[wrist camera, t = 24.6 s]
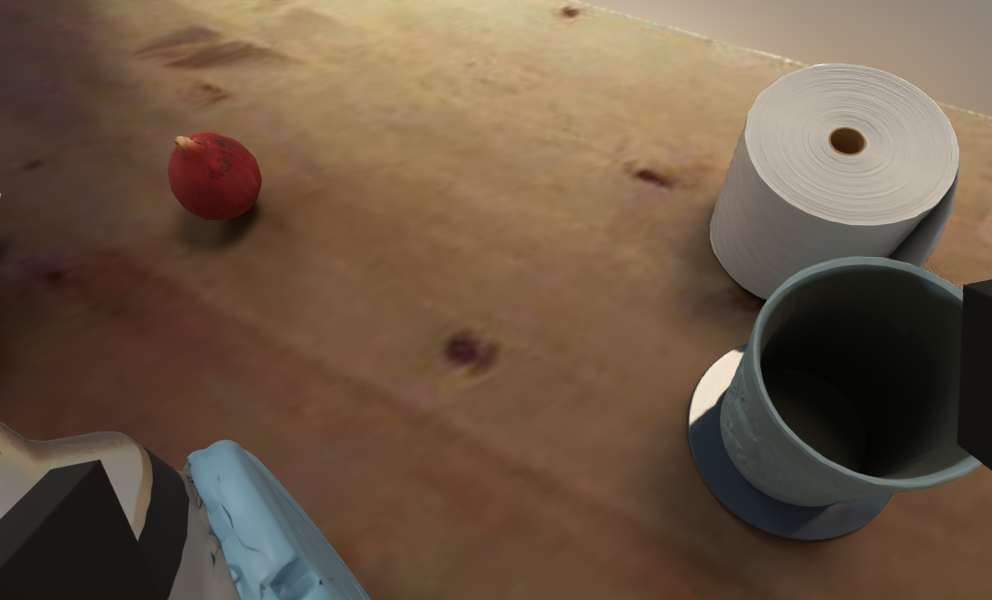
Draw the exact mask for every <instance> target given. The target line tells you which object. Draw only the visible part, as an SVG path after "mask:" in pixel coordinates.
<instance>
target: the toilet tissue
mask: <svg viewBox="0 0 992 600" xmlns="http://www.w3.org/2000/svg"><path fill="white" fill-rule="evenodd" d="M958 172H959V147H958V143H957V138H956V134H955V132H954V130H953V128H952V126H951V124H950V122H949V120H948V118H947V116H946V115H945V114H944V113H943V111H942V110H941V109H940V107H939V106H938V105H937V104H936V103H935V102H934V101H933V100H932V99H931V98H930V97H928V96H927V95H926V94H925V93H924V92H923V91H921V90H920V89H918V88H917V87H915V86H914V85H912V84H910V83H909V82H907V81H905V80H903V79H901V78H899V77H896V76H894V75H892V74H890V73H888V72H884V71H881V70H877V69H874V68H871V67H866V66H859V65H852V64H817V65H814V66H810V67H807V68H803V69H800V70H797V71H793V72H790V73H787V74H784V75H783V76H782V77H780V78H779V79H777V80H776V81H775V82H774V83H772V84H771V85H770V86H768V87H767V88H766V89H765V90H763V91H762V92H761V93H760V94H759V95H758V97H757V99H756V100H755V102H754V104H753V106H752V108H751V110H750V111H749V112H748V114H747V116H746V121H745V125H744V128H743V131H742V134H741V136H740V138H739V139H738V143H737V147H736V148H735V150H734V156H733V158H732V160H731V162H730V164H729V168H728V170H727V175H726V178H725V181H724V184H723V186H722V189H721V192H720V194H719V197H718V199H717V202H716V205H715V208H714V211H713V215H712V219H711V222H710V225H709V226H710V240H711V244H712V248H713V251H714V253H715V255H716V256H717V258H718V260H719V261H720V263H721V265H722V266H723V267H724V269H725V270H726V271H727V272H728V274H729V275H730V276H731V277H732V278H733V279H734V280H735V281H736V282H737V283H739V284H740V285H741V286H742V287H743V288H745V289H746V290H748V291H750V292H751V293H753V294H755V295H756V296H758V297H760V298H763V299H765V300H768V299H769V297H770V296H771V295H772V294H773V293H774V292H775V290H776V289H777V288H778V287H779V286H780V285H782V284H783V283H784V282H785V281H786V280H787V279H788V278H790V277H791V276H793V275H794V274H796V273H798V272H799V271H801V270H803V269H806V268H808V267H811V266H813V265H816V264H819V263H823V262H826V261H830V260H834V259H838V258H846V257H855V256H860V257H880V258H888V259H892V260H896V261H900V262H905V263H909V264H912V265H914V266H917V267H919V268H922V267H923V266H924V264H925V263H926V261H927V259H928V257H929V256H930V254H931V253H932V252H933V251H934V249H935V247H936V245H937V244H938V241H939V239H940V236H941V234H942V233H943V231H944V228H945V224H946V220H947V219H948V217H949V216H950V214H951V212H952V208H953V204H954V198H955V192H956V187H957V182H958Z"/></svg>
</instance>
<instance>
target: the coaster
mask: <svg viewBox="0 0 992 600" xmlns="http://www.w3.org/2000/svg"><path fill="white" fill-rule="evenodd" d="M747 346H748V344H744V345H742V346H740V347H737V348H735V349H733V350H731V351H729V352H728V353H726V354H724V355H723V356H722V357H720V358H719V359H718V360H717V361H715V362H714V363H713V364H712V365H711V366H710V367H709V369H708V370H707V371H706V372H705V373H704V375H703V376H702V378H701V379H700V381H699V382H698V384H697V386H696V388H695V390H694V392H693V395H692V398H691V401H690V404H689V409H688V415H687V436H688V444H689V448H690V452H691V456H692V458H693V461H694V464H695V466H696V469H697V471H698V472H699V474H700V476H701V478H702V480H703V482H704V483H705V484H706V486H707V487H708V489H709V490H710V492H711V493H712V494H713V495H714V496H715V497H716V499H717V500H718V501H719V502H720V503H721V504H722V505H723V506H724V507H725V508H726V509H728V510H729V511H730V512H731V513H732V514H733V515H735V516H736V517H738V518H739V519H740V520H742V521H743V522H745V523H747V524H749V525H750V526H752V527H754V528H756V529H758V530H760V531H763V532H765V533H768V534H770V535H773V536H777V537H781V538H784V539H791V540H798V541H819V540H827V539H831V538H835V537H839V536H842V535H846V534H848V533H850V532H852V531H855V530H857V529H859V528H860V527H862V526H864V525H865V524H867V523H868V522H870V521H871V520H872V519H873V518H874V517H875V516H876V515H877V514H879V513H880V511H881V510H882V509H883V508H884V506H885V505H886V504H887V503H888V501H889V499H890V497H891V495H892V494H888V495H883V496H877V497H867V498H864V499H859V500H851V501H844V502H838V503H834V504H830V505H825V506H816V507H808V506H798V505H793V504H788V503H785V502H782V501H779V500H777V499H774V498H772V497H770V496H768V495H766V494H765V493H763V492H762V491H760V490H758V489H757V488H755V487H754V486H753V485H752V484H751V483H750V482H748V481H747V480H746V479H745V478H744V477H743V475H742V474H741V473H740V472H739V471H738V470H737V468H736V467H735V465H734V464H733V462H732V461H731V459H730V457H729V455H728V453H727V451H726V448H725V446H724V442H723V439H722V434H721V428H720V414H721V406H722V403H723V399H724V397H725V394H726V392H727V390H728V388H729V385H730V383H731V381H732V379H733V377H734V375H735V372H736V369H737V367H738V365H739V362H740V360H741V358H742V356H743V354H744V353H745V351H746V349H747Z"/></svg>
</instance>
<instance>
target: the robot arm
mask: <svg viewBox="0 0 992 600" xmlns="http://www.w3.org/2000/svg"><path fill="white" fill-rule="evenodd" d="M957 445H959V446H960V447H961V448H963V449H964V450H965V451H967V452H968V453H969V454H971V455H972V456H973V457H975V458H976V459H977V460H979V461H980V462H981V463H983V464H984V465H985V466H986V467H988V468H989V469H990V470H992V279H991V280H986V281H981V282H976V283H971V284H966V285H963V305H962V330H961V354H960V379H959V403H958V428H957ZM187 458H188V459H189V460H188V462H187V463H186V465H185V467H184V469H183V470H182V471H178V470H175V469H174V468H173V467H171V466H169V465H168V464H166V463H165V462H164V461H162V460H161V459H160V458H158V457H157V456H156V455H154V454H153V453H152V452H150V451H149V450H147V449H146V448H145V447H143V446H142V445H141V444H139V443H138V442H137V441H135V440H133V439H131V438H130V437H128V436H127V435H125V434H124V433H119V432H113V431H107V432H95V433H90V434H84V435H78V436H72V437H67V438H61V439H55V440H49V441H36V440H27V439H26V438H24V437H23V436H21V435H20V434H18V433H17V432H15V431H14V430H12V429H11V428H9V427H8V426H6V425H5V424H3V423H2V422H0V600H370V598H369V597H368V595H367V594H366V592H365V591H364V590H363V588H362V587H361V585H360V584H359V582H358V581H357V580H356V578H355V577H354V575H353V574H352V573H351V571H350V570H349V569H348V567H347V566H346V564H345V563H344V562H343V560H342V559H341V558H340V556H339V555H338V554H337V552H336V551H335V550H334V548H333V547H332V546H331V544H330V543H329V542H328V541H327V539H326V538H325V537H324V535H323V534H322V533H321V532H320V530H319V529H318V528H317V526H316V525H315V524H314V523H313V521H312V520H311V519H310V518H309V516H308V515H307V514H306V513H305V511H304V510H303V509H302V508H301V506H300V505H299V504H298V503H297V502H296V501H295V499H294V498H293V497H292V496H291V495H290V494H289V492H288V491H287V490H286V489H285V488H284V487H283V485H282V484H281V483H280V482H279V481H278V480H277V479H276V478H275V476H274V475H273V474H272V473H271V472H270V471H269V470H268V469H267V468H266V467H265V466H264V465H263V464H262V463H261V462H260V461H259V460H258V459H257V458H256V457H255V456H254V455H252V454H251V453H249V452H248V451H246V450H244V449H243V448H242V447H241V446H240V445H239V444H237V443H236V442H234V441H230V440H221V441H218V442H215V443H213V444H212V445H211V446H209V447H208V448H206V449H204V450H198V451H196V452H194V451H193V452H192V453H191V454H190V455H189V456H188V457H187Z"/></svg>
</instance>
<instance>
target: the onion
mask: <svg viewBox="0 0 992 600" xmlns="http://www.w3.org/2000/svg"><path fill="white" fill-rule="evenodd" d="M175 143H176V144H177V146H176V148H175V149H174V151H173V153H172V154H171V158H170V162H169V166H168V176H169V181H170V186H171V189H172V192H173V193H174V195H175V197H176V198H177V200H178V201H179V202H180V203H181V204H182V206H183V207H184V208H185V209H186V210H188V211H189V212H191V213H192V214H195V215H197V216H199V217H201V218H204V219H206V220H229V219H232V218H235V217H239V216H240V215H242V214H243V213H245V212H246V211H248V210H249V208H250V207H251V206H252V205H253V203H254V202H255V201H256V200H257V198H258V195H259V191H260V188H261V181H262V178H261V174H260V170H259V166H258V164H257V162H256V159H255V157H254V156H253V155H252V154H251V153H250V152H249V151H248V150H247V149H246V148H245V147H244V146H243V145H241V144H240V143H239V142H237V141H236V140H234V139H232V138H228V137H224V136H221V135H218V134H215V133H199V134H194V135H192V136H190V137H185V136H177V137H176V138H175Z"/></svg>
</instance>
